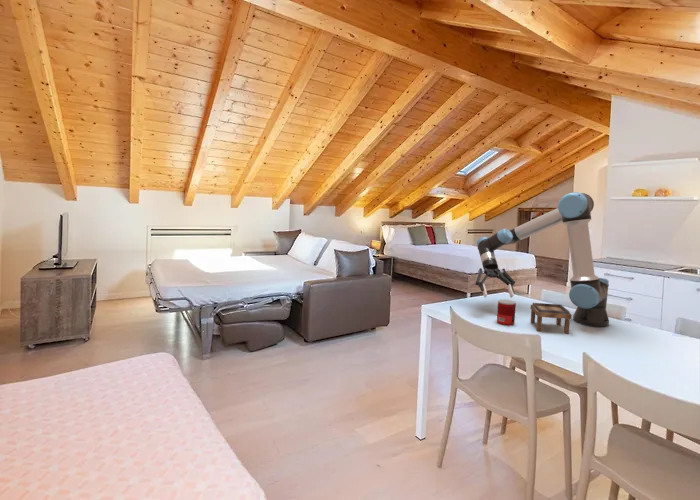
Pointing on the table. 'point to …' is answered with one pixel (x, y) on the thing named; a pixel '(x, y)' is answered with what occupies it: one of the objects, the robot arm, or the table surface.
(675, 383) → the table surface
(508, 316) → the canned food
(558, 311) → the stool
